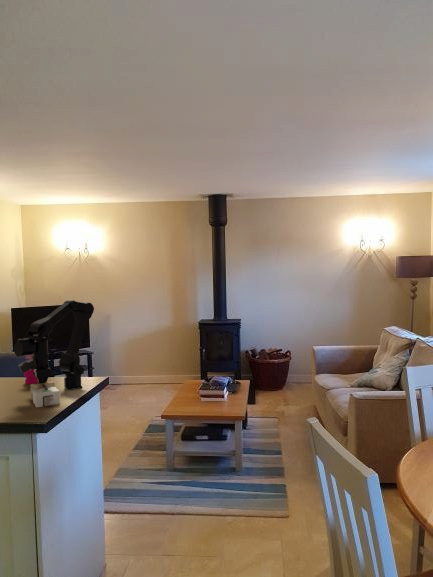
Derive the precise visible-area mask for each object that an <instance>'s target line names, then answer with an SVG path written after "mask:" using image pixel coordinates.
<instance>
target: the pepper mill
mask: <svg viewBox="0 0 433 577" xmlns="http://www.w3.org/2000/svg"><path fill="white" fill-rule="evenodd" d="M32 355H33V354H30V355H25V359H26V361H27V360H30V359H32ZM34 372H35V370H34V369H33V370H32V371H31V370H28V371H26V372H25V373H23V377H24V378H25V385H32V384H39V383H38V380H37V377H35V376H34V375H33V373H34Z"/></svg>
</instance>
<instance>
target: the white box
mask: <svg viewBox="0 0 433 577" xmlns="http://www.w3.org/2000/svg"><path fill="white" fill-rule="evenodd" d="M55 384H56V383H55V381H48V382H46V383H36V384H30V400H31V401H33V390H36V389H41V388H44V389H45V390H48V388H50V387H56V386H55ZM54 405H55V404H54V398H53V397H52V395H49V396H43V406H45V407H48V406H54Z"/></svg>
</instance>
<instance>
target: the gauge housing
mask: <svg viewBox="0 0 433 577" xmlns="http://www.w3.org/2000/svg"><path fill="white" fill-rule="evenodd" d="M49 395H52V397H53V398H54V405H59V404H61V397H60V396H61V395H60V389H58V387H56V386H55V387H50V388H48V390H45V389H44V388H41V389H36V390H33V400H32V403H33V405H34V404H35V405H34V406H35V407H36V408H41V407H44V403H43V396H49Z"/></svg>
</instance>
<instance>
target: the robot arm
mask: <svg viewBox="0 0 433 577" xmlns="http://www.w3.org/2000/svg"><path fill="white" fill-rule="evenodd" d="M94 311H95V307H94V304H93V303H92V302H85V301H84V302H81V301H80V302H79V301H76V300H74V299H73V300H70V299H69V300H65V301H64V302H63V303H62V304H60V306H58V307H57V308H55V309H54V310H53V311H51V313H49V314H48V315H47V316H45V317H43V318H40V319H38V320H36V321H34V322H32V323H30V325H29V329H28V331H27V333H26V335H25V336H24V338H18V339H16V342H15V344H14V346H13V352H14V354H15V356H16V357H18V358H21V357H23V356H24V357H26V355H30V354H33V355H32V359H30V360H27V359H26V361H23V362H21V363H19V364H18V365H17V366H18V368H19V370H20V373H21V374H24V373H25V372H26V371H28V370H31V371H32V370H33V369H34V370H35V372H34V373H33V375H34V376H35V377H37V380H38V383H37V384H39V383H46V382H47V381H48V379H49V378H50V377H53V376H54V370H53V369H52V368H51V367H50V364H49V358H50V355H49V344H48V343H49V341H52V340H53V338H52V337H50V336H49V334H50V333H51V332H52V331H53V329H54V326H56V324H57V323H58V322H60V321H61V320H62V319H63V318H64V317H65V316H67V315H68V314H69V313H71V312H73V315H74V319H75V321H74V325H73V328H72V331H71V335H70V340H69V343H68V347H67V350H66V351H65V353H61V354H60V358H59V361H58V363H59V364H58V368H59V369H60V371H61V374H62V375H65V376H64V378H63V384H64V385H63V386H64V388H65V389H66V390H67V391H69V390H70V391H71V390H76V389H83V386H82V375H83V374H84V373H85V368H84V367H83V366H82V365H81V363H80V362H81V358H80V354H79V352H80V347H81V344H82V341H83V337H84V333H85V329H86V325H87V322H88V321H89V320H90V319H91V318H92V316H93V314H94Z"/></svg>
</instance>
